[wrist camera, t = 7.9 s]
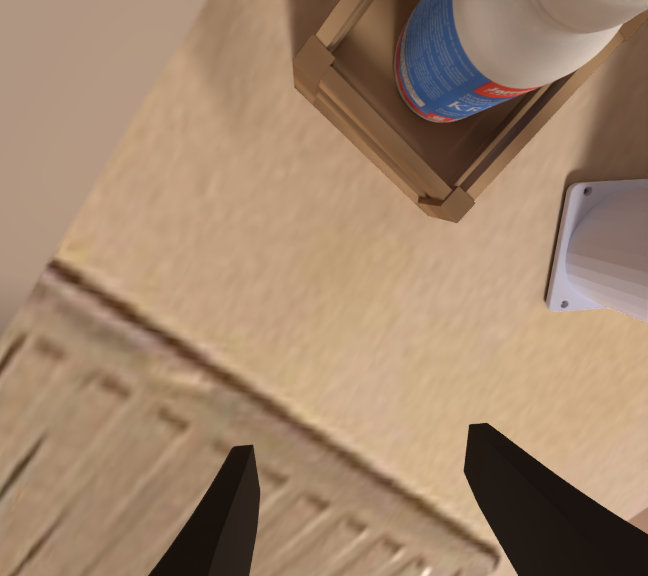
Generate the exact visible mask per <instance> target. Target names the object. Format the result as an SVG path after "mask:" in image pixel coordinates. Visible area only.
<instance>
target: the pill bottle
mask: <svg viewBox="0 0 648 576" xmlns="http://www.w3.org/2000/svg"><path fill="white" fill-rule="evenodd" d="M647 9H648V0H420V1H419V3H418V4H417V6H416V7H415V9H414V10H413V12H412V13H411V15H410V16H409V18H408V20H407V22H406V24H405V25H404V27H403V29H402V32H401V34H400V36H399V39H398V42H397V46H396V51H395V58H394V72H395V79H396V84H397V87H398V90H399V93H400V95H401V97H402V99H403V100H404V102H405V103H406V105H407V106H408V107H409V108H410V109H411V110H412V111H413V112H414V113H416V114H417V115H418V116H420V117H422V118H424V119H426V120H429V121H432V122H452V121H457V120H460V119H463V118H466V117H468V116H471V115H473V114H475V113H478V112H480V111H483V110H485V109H487V108H490V107H492V106H495V105H497V104H499V103H502V102H504V101H507V100H509V99H512V98H514V97H517V96H519V95H522V94H524V93H527V92H529V91H532V90H535V89H537V88H539V87H542V86H545V85H547V84H549V83H552V82H554V81H556V80H558V79H560V78H562V77H564V76H566V75H568V74H570V73H572V72H574V71H575V70H577V69H579V68H580V67H582V66H583V65H584V64H586V63H587V62H589V61H590V60H591V59H592V58H593V57H595V56H596V55H597V54H598V53H599V52H600V51H601V50H602V49H603V48H604V47H605V46H606V45H607V44H608V43H609V42H610V41H611V39H612V38H613V37H614V36H615V34H616V33H617V32H618V30H619V29H620V27H621V26H622V25H623V23H626V22H627V21H629V20H631V19H632V18H634V17H635V16H637V15H638V14H640V13H642V12H643V11H645V10H647Z"/></svg>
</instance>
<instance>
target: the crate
mask: <svg viewBox="0 0 648 576" xmlns="http://www.w3.org/2000/svg"><path fill="white" fill-rule="evenodd" d="M419 1H420V0H340V1H339V2H338V4H337V5H336V7H335V8H334V9H333V11H332V12H331V14H330V15H329V17H328V18H327V19H326V21H325V22H324V24H323V25H322V26H321V28H320V29H319V31H318V32H317V33H316V35H315V36H314V35H313V34H312V35H311V36H310V38H309V39H308V40H307V42H306V43H305V45H304V46H303V47H302V49H301V50H300V52H299V53H298V55H297V56H296V57H295V59H294V60H293V69H294V84H295V88H296V89H297V90H298V91H299V92H300V93H301V94H302V95H303V96H304V97H305V98H306V99H307V100H308V101H309V102H310V103H311V104H313V105H314V106H315V107H316V108H317V109H318V110H319V111H320V112H321V113H322V114H323V115H324V116H325V117H326V118H327V119H328V120H329V121H330V122H331V123H332V124H333V125H334V126H335V127H336V128H337V129H339V130H340V131H341V132H342V133H343V134H344V135H345V136H346V137H347V138H348V139H349V140H350V141H351V142H352V143H353V144H354V145H355V146H356V147H357V148H358V149H359V150H360V151H361V152H362V153H363V154H364V155H366V156H367V157H368V158H369V159H370V160H371V161H372V162H373V163H374V164H375V165H376V166H377V167H378V168H379V169H380V170H381V171H382V172H383V173H384V174H385V175H386V176H387V177H388V178H389V179H390V180H391V181H393V182H394V183H395V184H396V185H397V186H398V187H399V188H400V189H401V190H402V191H403V192H404V193H405V194H406V195H407V196H408V197H409V198H410V199H411V200H412V201H413V202H414V203H415V204H416V205H417V206H419V207H420V208H421V209H422V210H423V211H424V212H425V213H426V214H427V215H428V216H431V217H435V218H439V219H443V220H447V221H451V222H455V223H458V222H459V221H460V219H461V218H462V217H463V216H464V215H465V214H466V213H467V212H468V211H469V210H470V209H471V208H472V207H473V205H474V204H475V202H474V200H475V199H476V198H477V197H478V196H479V195H480V194H481V193H482V192H483V191H484V189H485V188H486V187H487V186H488V185H489V184H490V183H491V182H492V181H493V180H494V179H495V178H496V177H497V175H498V174H499V173H500V172H501V171H502V170H503V169H504V168H505V167H506V166H507V165H508V164H509V163H510V161H511V160H512V159H513V158H514V157H515V156H516V155H517V154H518V153H519V152H520V151H521V150H522V148H523V147H524V146H525V145H526V144H527V143H528V142H529V141H530V140H531V139H532V138H533V137H534V136H535V134H536V133H537V132H538V131H539V130H540V129H541V128H542V127H543V126H544V125H545V124H546V123H547V122H548V120H549V119H550V118H551V117H552V116H553V115H554V114H555V113H556V112H557V111H558V110H559V109H560V108H561V106H562V105H563V104H564V103H565V102H566V101H567V100H568V99H569V98H570V97H571V96H572V95H573V94H574V92H575V91H576V90H577V89H578V88H579V87H580V86H581V85H582V84H583V83H584V82H585V81H586V80H587V78H588V77H589V76H590V75H591V74H592V73H593V72H594V71H595V70H596V69H597V68H598V67H599V65H600V64H601V63H602V62H603V61H604V60H605V59H606V58H607V57H608V56H609V55H610V54H611V53H612V51H613V50H614V49H615V48H616V47H617V46H618V45H619V44H620V43H622V42H624V41H626V40H628V39H629V38H630V37H631V36H632V35H633V34H634V33H635V31H636V30H637V29H638V28H639V27H640V26H641V25H642V24H643V23H644V22H645V21H646V20H647V19H648V9H647V10H645V11H643V12H642V13H640V14H638V15H637V16H635V17H634V18H632V19H631V20H629V21H627V22H626V23H623V25H622V26H621V27H620V29H619V30H618V32H617V33H616V34H615V36H614V37H613V38H612V39H611V41H610V42H609V43H608V44H607V45H606V46H605V47H604V48H603V49H602V50H601V51H600V52H599V53H598V54H597V55H596V56H595V57H593V58H592V59H591V60H590V61H589V62H587V63H586V64H584V65H583V66H582V67H580V68H579V69H577V70H575V71H574V72H572V73H570V74H568V75H566V76H564V77H562V78H560V79H558V80H556V81H554V82H552V83H549V84H547V85H545V86H542V87H539V88H537V89H535V90H532V91H529V92H527V93H524V94H522V95H519V96H517V97H514V98H512V99H509V100H507V101H504V102H502V103H499V104H497V105H495V106H492V107H490V108H487V109H485V110H483V111H480V112H478V113H475V114H473V115H471V116H468V117H466V118H463V119H460V120H457V121H452V122H432V121H429V120H426V119H424V118H422V117H420V116H418V115H417V114H416V113H414V112H413V111H412V110H411V109H410V108H409V107H408V106H407V105H406V103H405V102H404V100H403V99H402V97H401V95H400V93H399V90H398V87H397V84H396V79H395V72H394V58H395V51H396V46H397V42H398V39H399V36H400V34H401V32H402V29H403V27H404V25H405V24H406V22H407V20H408V18H409V16H410V15H411V13H412V12H413V10H414V9H415V7H416V6H417V4H418V3H419Z"/></svg>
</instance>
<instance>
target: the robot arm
mask: <svg viewBox="0 0 648 576" xmlns="http://www.w3.org/2000/svg"><path fill="white" fill-rule="evenodd" d="M585 188H586V189H587V191H586V193H585V194H584V189H585ZM563 301H564V302H563ZM562 302H563V304H562V305H561V303H562ZM546 308H547V309H549V310H550V311H552V312H560V311H574V310H587V309H600V308H610V309H612V310H615V311H617V312H620V313H622V314H625V315H627V316H630V317H632V318H635V319H637V320H640V321H642V322H645V323H647V324H648V179H633V180H615V181H597V182H579V183H573V184H572V185H570V186H569V188H568V189H567V192H566V198H565V203H564V208H563V214H562V219H561V225H560V230H559V235H558V241H557V246H556V251H555V257H554V262H553V267H552V273H551V278H550V284H549V289H548V294H547V300H546ZM464 473H465V476H466V478H467V480H468V483H469V485H470V487H471V490H472V492H473V494H474V496H475V499H476V501H477V503H478V505H479V507H480V509H481V511H482V513H483V514H484V516H485V518H486V520H487V522H488V523H489V525H490V527H491V529H492V530H493V532H494V534H495V536H496V537H497V539H498V541H499V543H500V545H501V546H502V548H503V550H504V552H505V553H506V555H507V557H508V559H509V560H510V562H511V564H512V566H513V567H514V569H515V571H516V573H517V574H518V576H648V534H646V533H645V532H643V531H642V530H640V529H638V528H637V527H635V526H633V525H632V524H630V523H628V522H627V521H625V520H623V519H622V518H620V517H619V516H617V515H615V514H614V513H612V512H611V511H609V510H608V509H606V508H605V507H603V506H601V505H600V504H598V503H597V502H596V501H594V500H593V499H591V498H590V497H588V496H587V495H585V494H584V493H582V492H581V491H579V490H578V489H576V488H575V487H573V486H572V485H570V484H569V483H568V482H566V481H565V480H563V479H562V478H561V477H559V476H558V475H556V474H555V473H554V472H552V471H551V470H549V469H548V468H547V467H545V466H544V465H543V464H541V463H540V462H539V461H537V460H536V459H535V458H533V457H532V456H531V455H529V454H528V453H527V452H525V451H524V450H523V449H521V448H520V447H519V446H517V445H516V444H515V443H513V442H512V441H511V440H509V439H508V438H507V437H505V436H504V435H503V434H501V433H500V432H499V431H497V430H496V429H495V428H493V427H492V426H491V425H489V424H488V423H480V424H470V425H469V431H468V440H467V448H466V456H465V465H464ZM259 502H260V487H259V480H258V474H257V467H256V461H255V454H254V448H253V445H244V446H234V447H233V448H232V449H231V451H230V453H229V454H228V456H227V458H226V460H225V462H224V463H223V465H222V467H221V469H220V471H219V472H218V474H217V476H216V477H215V479H214V481H213V482H212V484H211V486H210V487H209V489H208V491H207V492H206V494H205V495H204V497H203V498H202V500H201V502H200V503H199V505H198V506H197V508H196V509H195V511H194V513H193V514H192V516H191V517H190V519H189V520H188V522H187V523H186V524H185V526H184V527H183V529H182V530H181V532H180V533H179V534H178V536H177V537H176V539H175V540H174V542H173V543H172V545H171V546H170V547H169V549H168V550H167V551H166V553H165V554H164V556H163V557H162V558H161V560H160V561H159V562H158V564H157V565H156V566H155V568H154V569H153V570H152V571H151V573H150V574H149V575H148V576H249V573H250V567H251V562H252V556H253V550H254V545H255V539H256V533H257V526H258V515H259Z"/></svg>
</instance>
